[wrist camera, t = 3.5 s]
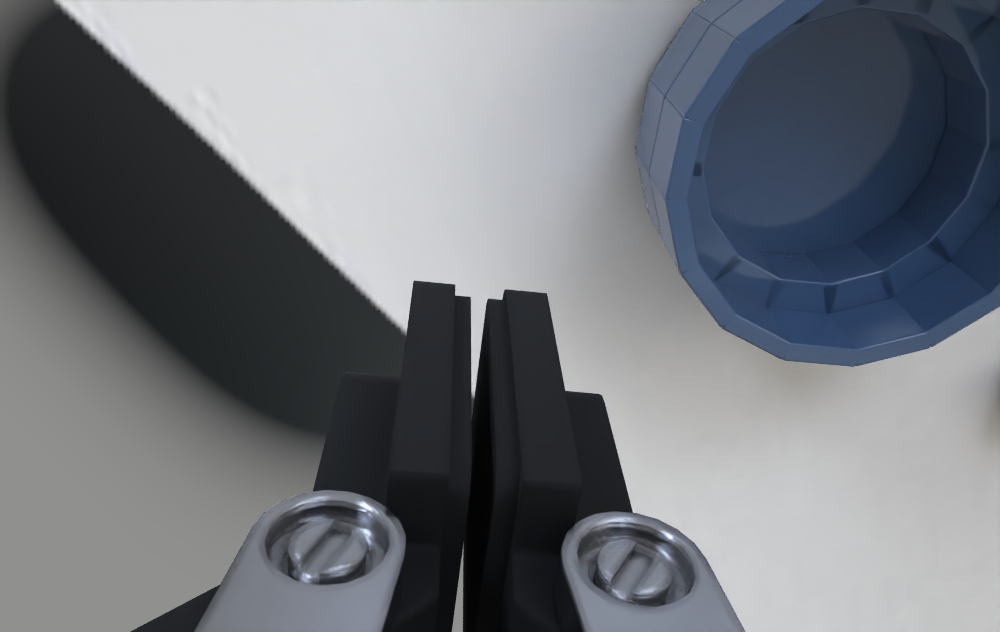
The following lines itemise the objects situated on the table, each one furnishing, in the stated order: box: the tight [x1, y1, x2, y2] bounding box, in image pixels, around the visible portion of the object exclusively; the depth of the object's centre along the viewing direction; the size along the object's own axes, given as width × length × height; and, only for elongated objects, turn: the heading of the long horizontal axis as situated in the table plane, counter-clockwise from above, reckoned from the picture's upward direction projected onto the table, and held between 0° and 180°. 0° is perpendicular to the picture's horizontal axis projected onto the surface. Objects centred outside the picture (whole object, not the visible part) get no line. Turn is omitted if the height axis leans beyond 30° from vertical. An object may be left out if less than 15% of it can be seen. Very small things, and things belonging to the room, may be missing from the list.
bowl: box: [635, 0, 1000, 367], centre depth 25 cm, size 11×11×5 cm
